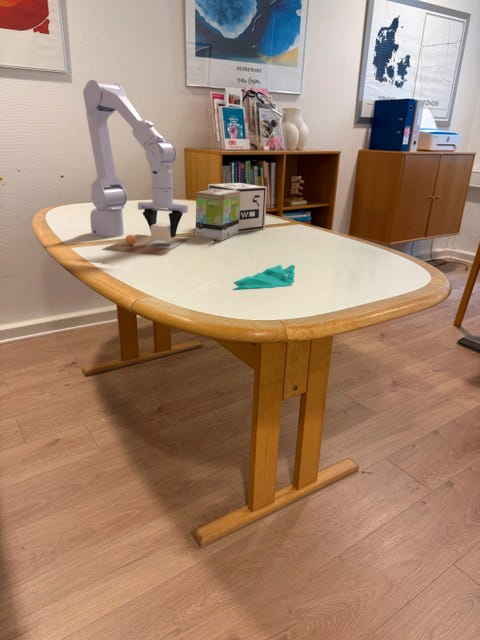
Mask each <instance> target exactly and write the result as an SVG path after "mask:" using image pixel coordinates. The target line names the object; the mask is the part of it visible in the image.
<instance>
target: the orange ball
mask: <svg viewBox="0 0 480 640" xmlns="http://www.w3.org/2000/svg"><path fill="white" fill-rule="evenodd" d="M125 239H126V243H127V244H129V245H133V244H135V243H136V237H135V236H134V235H133V234H127V235H126V237H125Z"/></svg>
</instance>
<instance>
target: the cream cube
mask: <svg viewBox="0 0 480 640" xmlns="http://www.w3.org/2000/svg"><path fill="white" fill-rule="evenodd" d="M150 236H151V240H162V241H170V240H172V239H174V238H177V236H175V237H174V238H171V226H170V222H169V223H167V222H156V224H154V225H151V231H150Z"/></svg>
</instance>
